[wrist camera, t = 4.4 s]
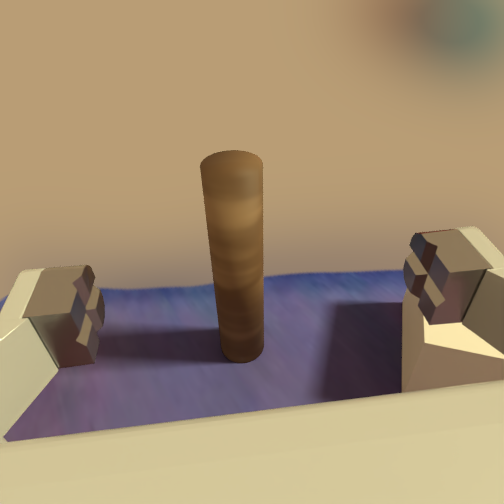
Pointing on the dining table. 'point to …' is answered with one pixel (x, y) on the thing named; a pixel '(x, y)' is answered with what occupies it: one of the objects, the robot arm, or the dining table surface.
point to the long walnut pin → (236, 249)
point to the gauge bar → (443, 353)
